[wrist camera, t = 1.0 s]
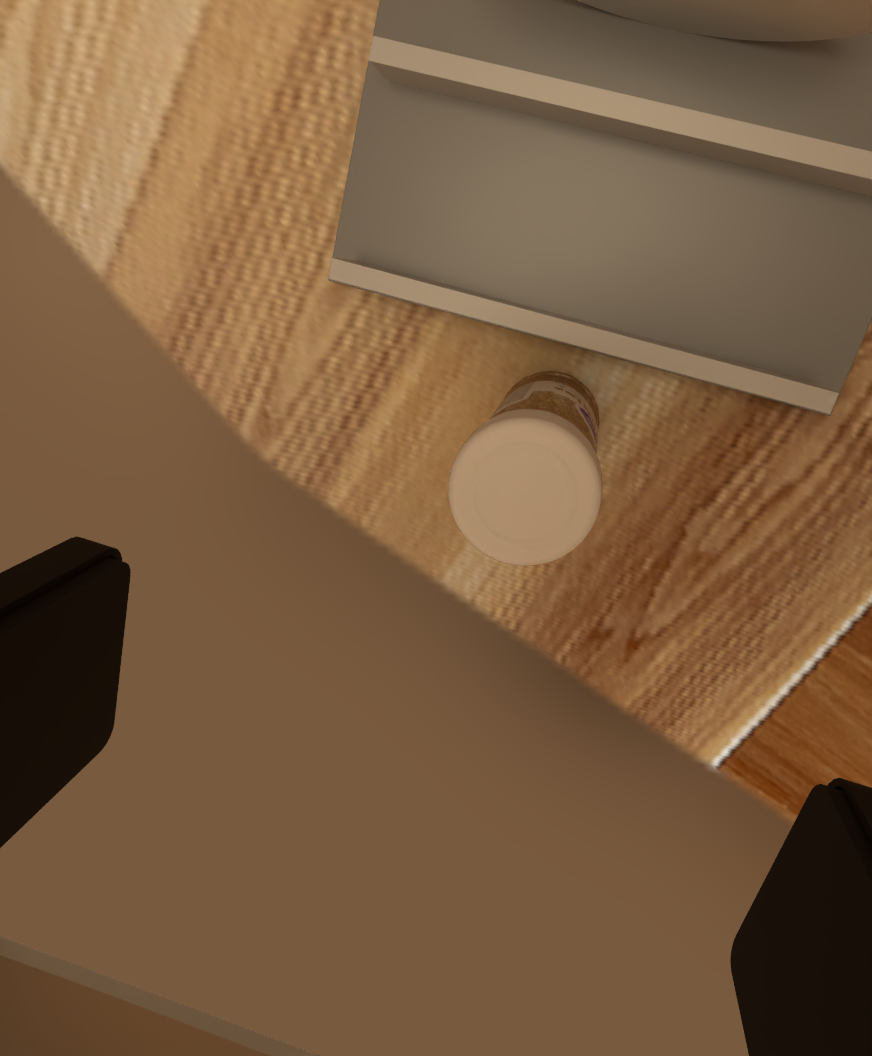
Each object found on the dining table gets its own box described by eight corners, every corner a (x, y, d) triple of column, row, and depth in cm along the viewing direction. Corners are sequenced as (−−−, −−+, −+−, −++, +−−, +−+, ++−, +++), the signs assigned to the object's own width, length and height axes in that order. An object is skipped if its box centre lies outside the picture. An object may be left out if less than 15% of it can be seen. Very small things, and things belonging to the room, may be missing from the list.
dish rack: (1023, -59, 26) (1533, -466, 12) (821, 411, 32) (1004, 511, 18) (422, -179, 28) (254, -638, 14) (336, 280, 34) (156, 277, 20)
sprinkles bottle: (619, 427, 34) (635, 512, 21) (539, 487, 35) (509, 598, 23) (557, 347, 33) (536, 385, 21) (478, 411, 35) (414, 482, 22)
